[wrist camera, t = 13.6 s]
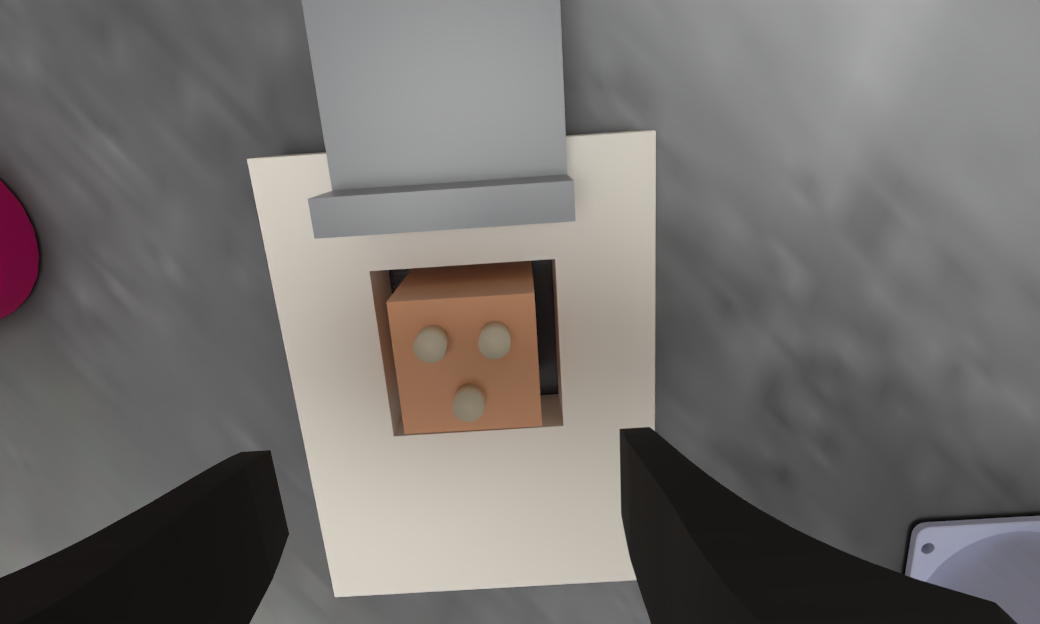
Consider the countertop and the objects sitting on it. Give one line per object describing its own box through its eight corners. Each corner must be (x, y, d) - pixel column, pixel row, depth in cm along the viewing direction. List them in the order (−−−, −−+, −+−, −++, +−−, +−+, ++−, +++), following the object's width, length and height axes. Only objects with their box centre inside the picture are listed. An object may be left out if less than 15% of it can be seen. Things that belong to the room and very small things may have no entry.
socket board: (640, 534, 24) (654, 579, 22) (352, 551, 24) (335, 597, 22) (638, 130, 19) (655, 130, 17) (279, 155, 20) (246, 158, 17)
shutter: (566, 206, 17) (575, 221, 15) (345, 221, 17) (314, 238, 15) (555, -46, 15) (563, -83, 13) (306, -27, 15) (262, -61, 13)
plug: (537, 367, 22) (542, 437, 17) (426, 374, 22) (399, 446, 17) (531, 258, 21) (535, 300, 16) (413, 266, 21) (380, 309, 16)
